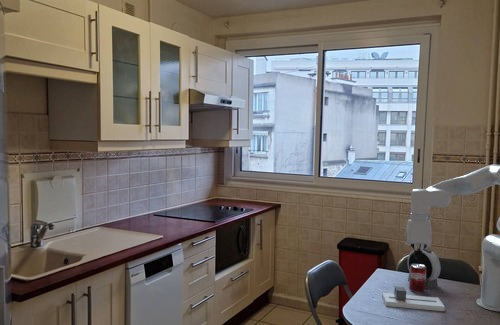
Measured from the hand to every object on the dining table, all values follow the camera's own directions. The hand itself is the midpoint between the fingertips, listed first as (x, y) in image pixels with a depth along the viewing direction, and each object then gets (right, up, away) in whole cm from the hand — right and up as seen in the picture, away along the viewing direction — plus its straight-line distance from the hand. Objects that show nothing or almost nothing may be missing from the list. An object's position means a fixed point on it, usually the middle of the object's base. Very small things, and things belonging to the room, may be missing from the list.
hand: (417, 258), depth 181 cm
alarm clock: (+14, -19, +28) cm, 37 cm away
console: (-2, -20, +2) cm, 20 cm away
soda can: (+7, -20, +18) cm, 28 cm away
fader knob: (-7, -18, +2) cm, 19 cm away
